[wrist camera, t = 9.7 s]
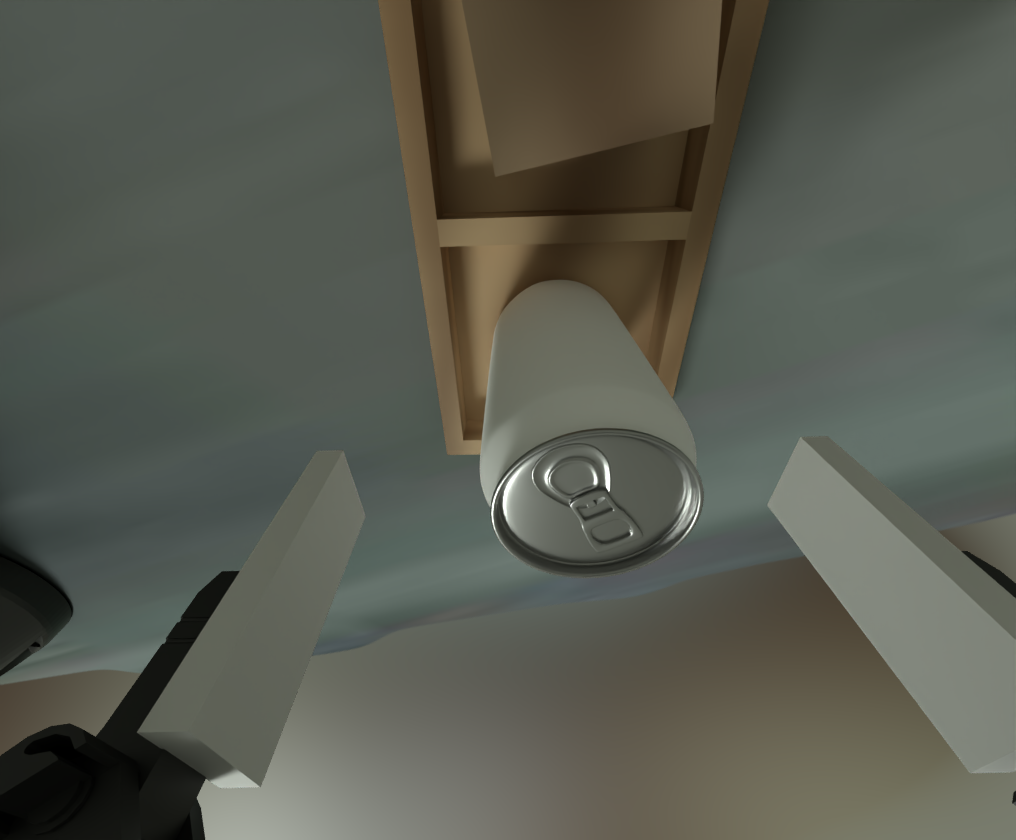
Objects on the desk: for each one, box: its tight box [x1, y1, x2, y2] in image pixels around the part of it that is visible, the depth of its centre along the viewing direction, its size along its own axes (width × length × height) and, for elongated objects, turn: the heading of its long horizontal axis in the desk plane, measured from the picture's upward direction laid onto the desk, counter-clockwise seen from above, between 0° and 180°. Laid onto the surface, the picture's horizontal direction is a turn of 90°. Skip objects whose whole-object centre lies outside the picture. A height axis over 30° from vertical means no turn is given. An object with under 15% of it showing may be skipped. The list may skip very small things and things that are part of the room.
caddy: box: [378, 0, 769, 455], centre depth 17 cm, size 12×23×3 cm, turn 2°
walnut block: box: [462, 0, 722, 177], centre depth 12 cm, size 6×6×6 cm
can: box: [480, 280, 704, 578], centre depth 15 cm, size 6×6×12 cm
